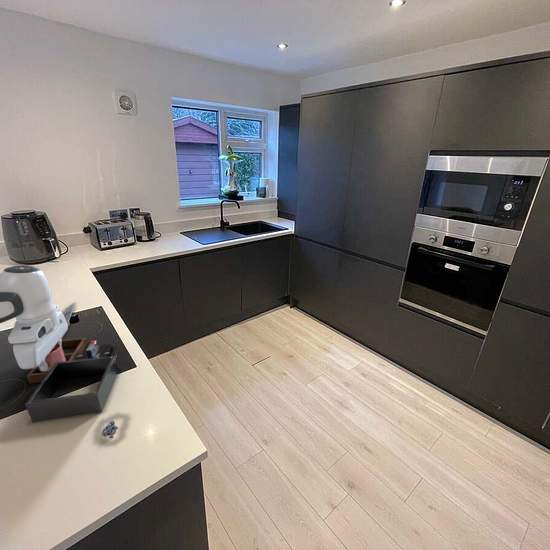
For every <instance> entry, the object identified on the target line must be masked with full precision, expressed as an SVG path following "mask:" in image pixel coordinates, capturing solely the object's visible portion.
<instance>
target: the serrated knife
mask: <svg viewBox="0 0 550 550" xmlns="http://www.w3.org/2000/svg"><path fill="white" fill-rule="evenodd" d="M74 305H75V304H74V303H72V304H71V305H69V306H68V307H67V308H66V309H65V310H64V311H63V312H62V313H63V315H64V317H65V319H66V322H67V325H68V327H69V326H70V319H71V317H72V314H73V311H74V308H75V307H74ZM64 336H65V334H64V335H63V336H62V338H61V339H62V340H63V338H64Z"/></svg>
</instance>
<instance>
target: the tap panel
mask: <svg viewBox="0 0 550 550" xmlns="http://www.w3.org/2000/svg"><path fill="white" fill-rule="evenodd" d="M113 347H114V346H113V344H111V343H110V344H100V345H98V349H99V350H98V352H97V353H96V355H95V357H94V358H99V357H109V356H112V353H113V350H114V348H113ZM87 348H88V346H86V347H85V349H84V350H83V352H82V354H81V355H80V356H77V357H79V358H78V360H81V359H88V356H87V352H86V350H87Z"/></svg>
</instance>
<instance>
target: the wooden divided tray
mask: <svg viewBox="0 0 550 550" xmlns="http://www.w3.org/2000/svg"><path fill="white" fill-rule="evenodd" d="M61 345H62V348H63V349H66V348H67V349H68V348H75V349H74V351H73V352H68V353H64V355H65V358H66V361H72V360H78V358H79V357H77V356H80V355H81V354H82V352H83V350H84V349H85V347H88V346H89V345H88V339H87V337H79V338H68V339H62V342H61ZM47 374H48V372H44V373H41V372H40V369H39V366H38V367H37V368H32V369H30V371H29V373H28V374H27V375H26V378H27V381H28V384H36V383H38V384H39V383H41V382H42V381H43V379H44V378H45V376H46V375H47Z"/></svg>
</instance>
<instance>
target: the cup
mask: <svg viewBox="0 0 550 550" xmlns="http://www.w3.org/2000/svg"><path fill="white" fill-rule="evenodd" d="M64 354H65V352H64V348H62V345H61V344H60V343H58V342H57V344H56V345H55V346H54V347H53V349H52V350H51V351H50V352H49V354H48V355H47V356H46V357H45V362H49V365H50V367H49V368H48V370H46V371H41V370H40V372H41V373H44V372H49V371H50V370H51V368H52V367H53V366H54V364H55V363H56V362H63V361H66V358H65V355H64ZM39 369H40V368H39Z"/></svg>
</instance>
